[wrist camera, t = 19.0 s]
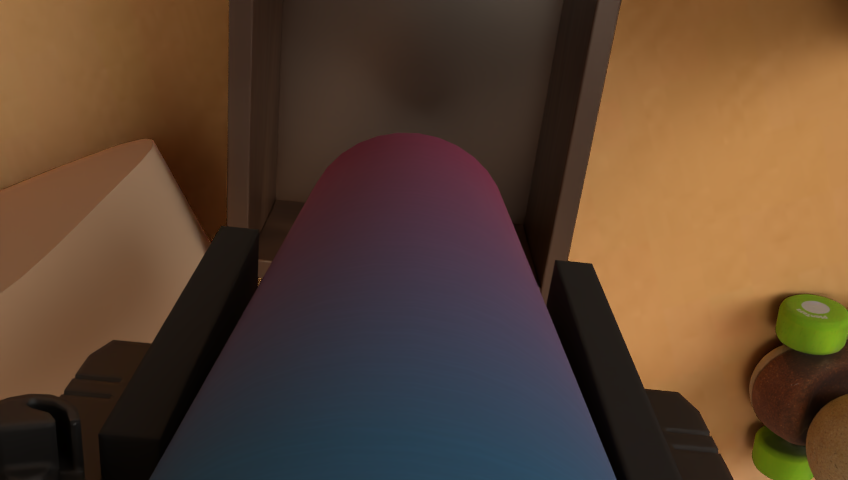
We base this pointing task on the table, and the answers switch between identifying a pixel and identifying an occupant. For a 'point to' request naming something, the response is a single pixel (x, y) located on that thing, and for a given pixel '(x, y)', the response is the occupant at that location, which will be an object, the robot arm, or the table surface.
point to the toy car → (804, 393)
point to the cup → (393, 341)
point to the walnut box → (417, 101)
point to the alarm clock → (90, 262)
